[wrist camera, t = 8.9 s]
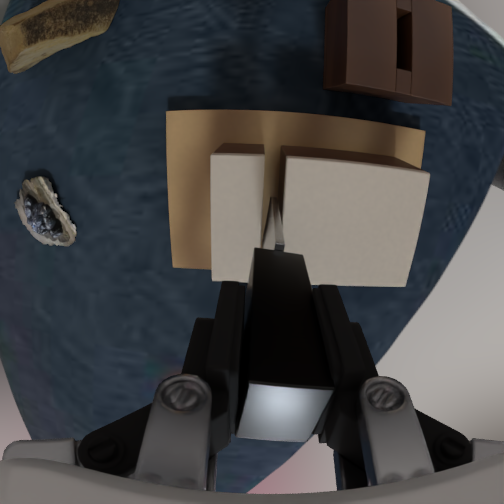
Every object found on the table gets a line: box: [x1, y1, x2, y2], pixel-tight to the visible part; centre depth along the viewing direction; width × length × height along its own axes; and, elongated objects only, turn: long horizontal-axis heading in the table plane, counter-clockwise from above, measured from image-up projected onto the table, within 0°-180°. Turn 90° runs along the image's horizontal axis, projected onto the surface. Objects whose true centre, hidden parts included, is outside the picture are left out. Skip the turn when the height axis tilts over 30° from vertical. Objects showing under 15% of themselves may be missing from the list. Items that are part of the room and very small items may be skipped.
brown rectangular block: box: [210, 143, 265, 282], centre depth 22 cm, size 3×8×6 cm, turn 178°
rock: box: [0, 0, 119, 74], centre depth 16 cm, size 11×9×10 cm
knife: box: [235, 196, 335, 442], centre depth 13 cm, size 2×3×14 cm, turn 171°
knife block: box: [323, 0, 453, 106], centre depth 17 cm, size 7×7×7 cm
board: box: [166, 110, 425, 269], centre depth 25 cm, size 20×13×1 cm, turn 88°
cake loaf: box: [278, 145, 430, 287], centre depth 22 cm, size 9×8×6 cm
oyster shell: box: [14, 176, 77, 247], centre depth 25 cm, size 7×8×2 cm
